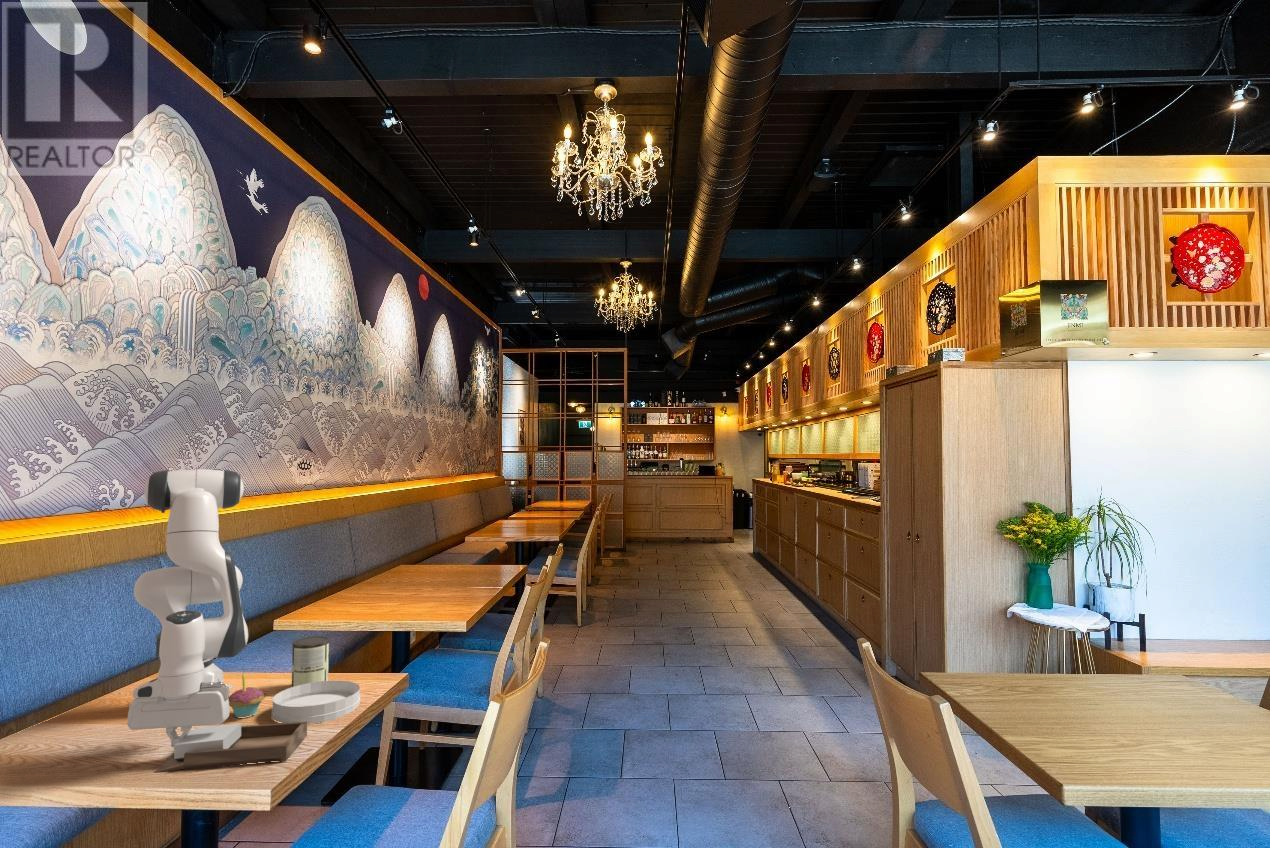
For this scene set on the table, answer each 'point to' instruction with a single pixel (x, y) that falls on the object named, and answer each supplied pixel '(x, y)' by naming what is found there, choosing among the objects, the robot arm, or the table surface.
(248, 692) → the cupcake
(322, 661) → the coffee can
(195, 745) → the grey square tile
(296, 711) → the dish
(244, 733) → the dock
